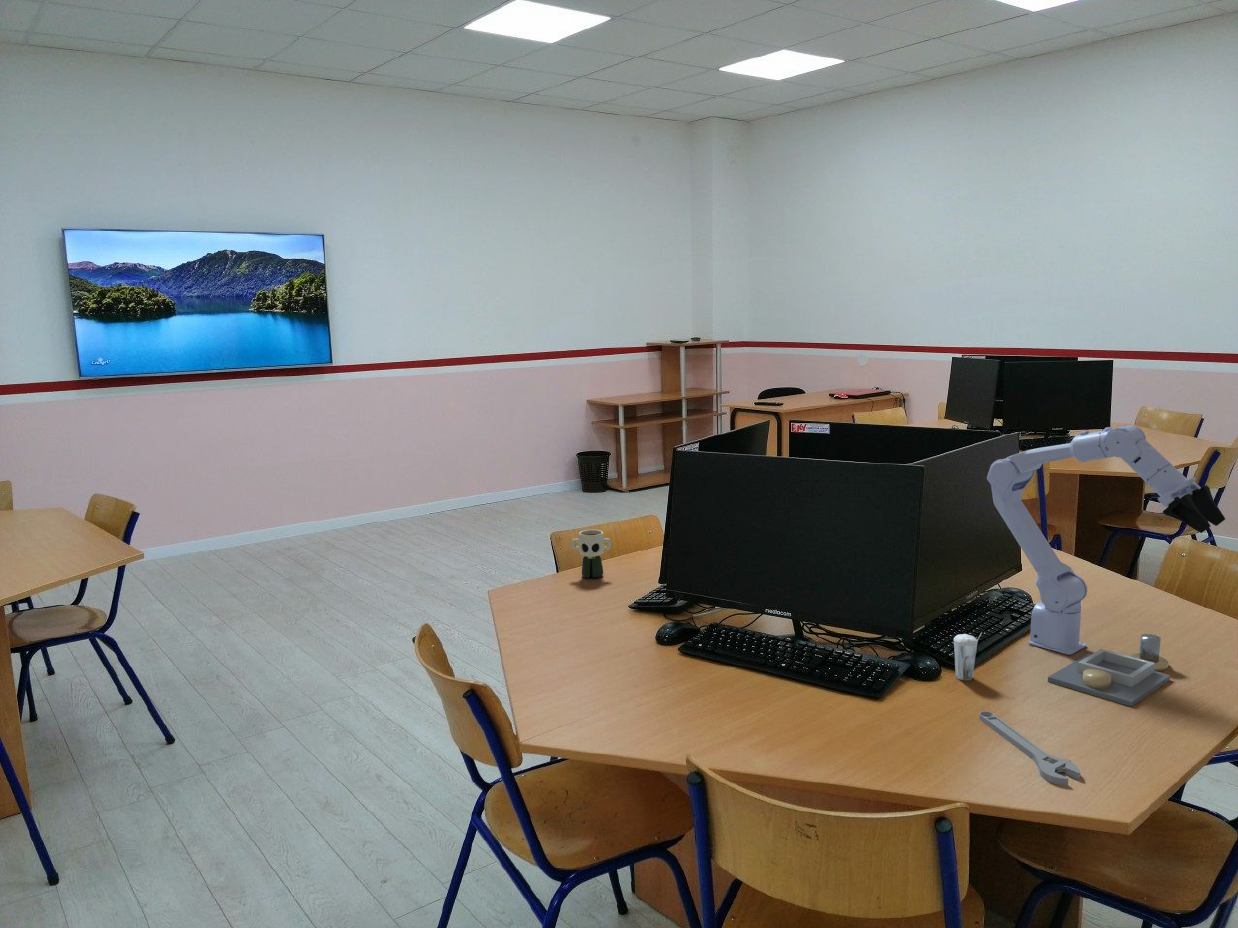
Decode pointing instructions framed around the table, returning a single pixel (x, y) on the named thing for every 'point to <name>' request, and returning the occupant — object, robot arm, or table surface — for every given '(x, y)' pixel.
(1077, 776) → the adjustable wrench
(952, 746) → the table surface
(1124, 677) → the carrier
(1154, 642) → the flanged metal cylinder
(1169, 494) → the robot arm
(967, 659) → the milkshake
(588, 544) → the character mug
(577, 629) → the table surface
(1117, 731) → the table surface
